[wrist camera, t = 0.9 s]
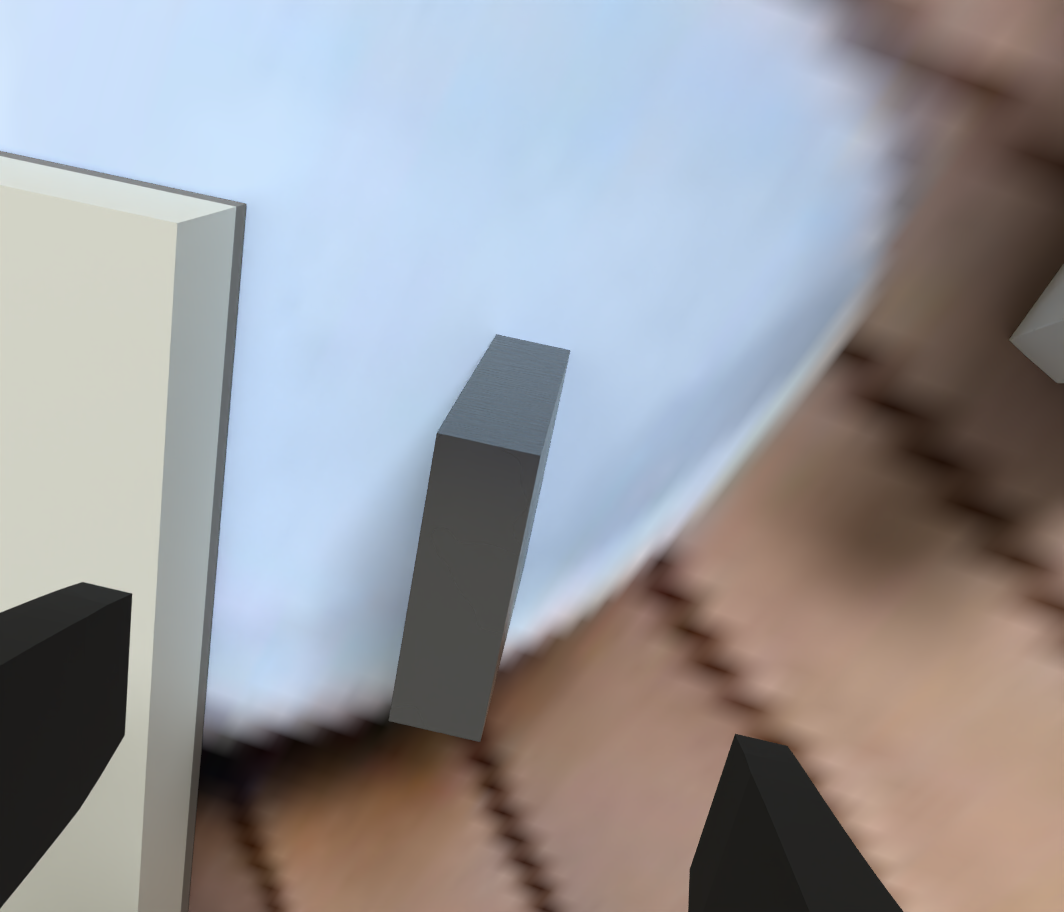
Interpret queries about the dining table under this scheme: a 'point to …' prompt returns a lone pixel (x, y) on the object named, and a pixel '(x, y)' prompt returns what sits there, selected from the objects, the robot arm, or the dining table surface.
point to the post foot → (119, 484)
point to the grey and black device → (1045, 330)
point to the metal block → (476, 536)
